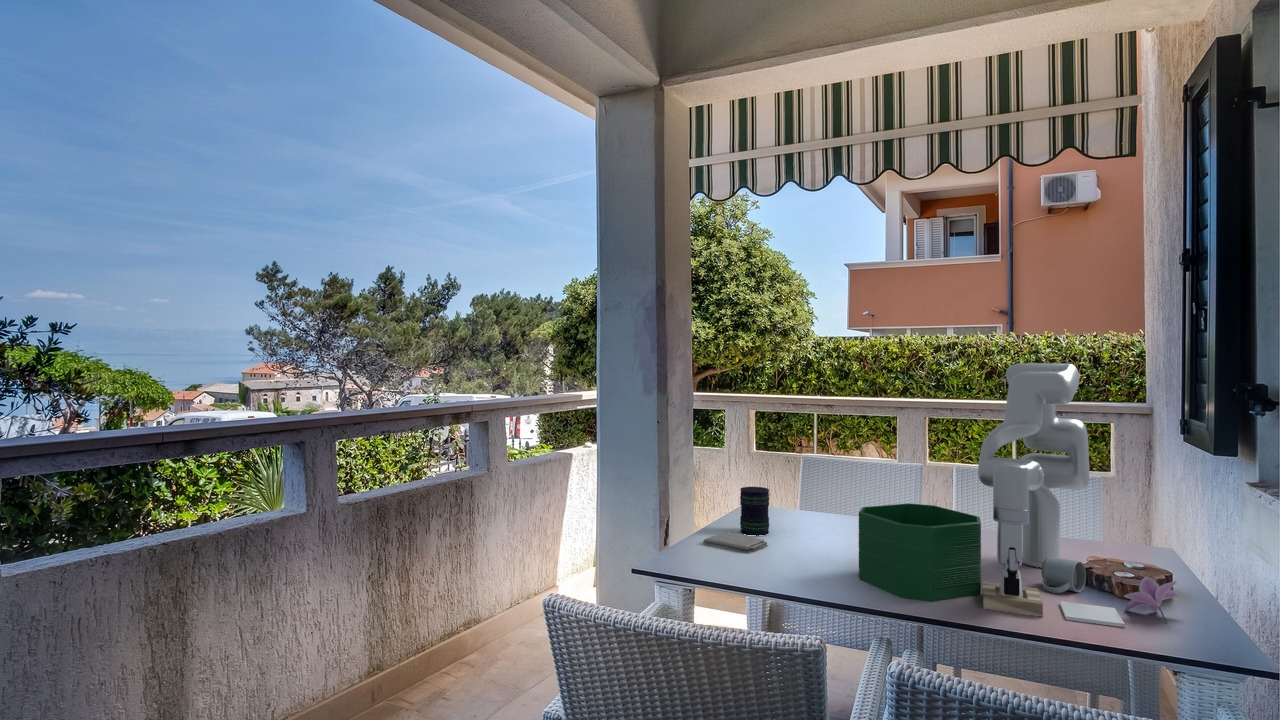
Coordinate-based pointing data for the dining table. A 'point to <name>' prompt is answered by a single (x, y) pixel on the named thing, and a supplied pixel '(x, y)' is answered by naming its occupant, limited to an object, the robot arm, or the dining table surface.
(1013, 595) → the pepper shaker
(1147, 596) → the lily
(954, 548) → the planter
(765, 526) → the storage jar
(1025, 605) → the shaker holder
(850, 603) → the dining table surface
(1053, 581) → the ceramic mug
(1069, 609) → the ceramic coaster
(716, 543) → the washcloth
